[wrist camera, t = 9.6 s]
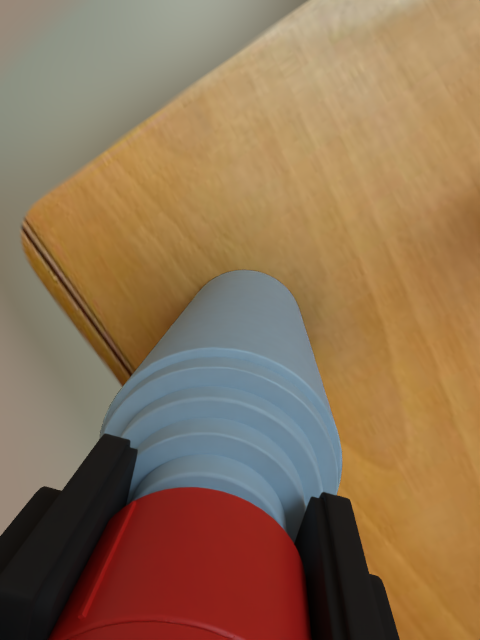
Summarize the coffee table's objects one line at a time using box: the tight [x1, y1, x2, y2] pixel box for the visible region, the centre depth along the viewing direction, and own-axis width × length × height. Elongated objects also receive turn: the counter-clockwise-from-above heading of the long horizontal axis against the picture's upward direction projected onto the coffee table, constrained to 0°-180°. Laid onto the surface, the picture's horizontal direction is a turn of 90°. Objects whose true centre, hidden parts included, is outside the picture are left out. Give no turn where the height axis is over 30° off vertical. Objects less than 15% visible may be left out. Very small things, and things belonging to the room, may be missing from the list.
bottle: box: [100, 270, 342, 543], centre depth 16 cm, size 6×6×20 cm
